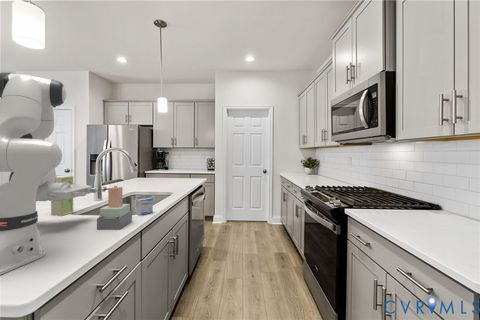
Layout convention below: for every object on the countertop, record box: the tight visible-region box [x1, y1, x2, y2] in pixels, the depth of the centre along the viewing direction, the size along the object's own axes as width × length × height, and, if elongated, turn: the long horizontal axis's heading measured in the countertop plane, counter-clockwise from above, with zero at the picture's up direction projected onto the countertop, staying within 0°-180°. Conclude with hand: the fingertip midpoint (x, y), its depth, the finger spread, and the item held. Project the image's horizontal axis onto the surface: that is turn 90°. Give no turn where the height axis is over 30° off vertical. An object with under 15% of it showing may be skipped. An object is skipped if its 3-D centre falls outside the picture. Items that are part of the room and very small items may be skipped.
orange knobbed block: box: [107, 185, 123, 207], centre depth 117 cm, size 4×4×10 cm
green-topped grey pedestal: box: [96, 203, 133, 231], centre depth 117 cm, size 14×10×9 cm
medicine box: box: [135, 197, 154, 216], centre depth 140 cm, size 8×4×9 cm, turn 143°
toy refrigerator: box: [50, 175, 74, 217], centre depth 136 cm, size 8×7×21 cm
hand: (90, 192), depth 117 cm, fingers open, 8 cm apart
